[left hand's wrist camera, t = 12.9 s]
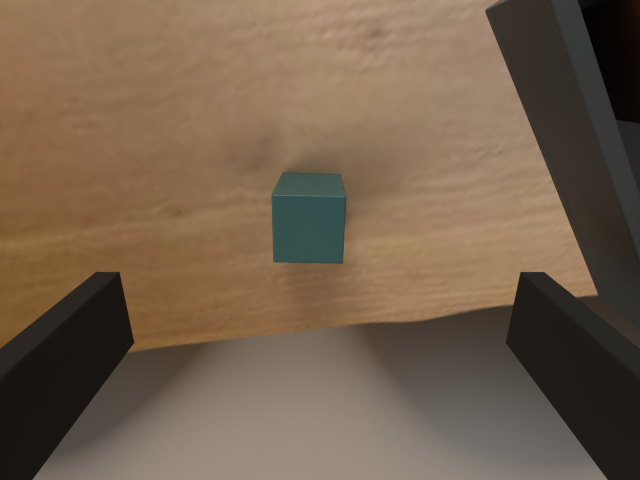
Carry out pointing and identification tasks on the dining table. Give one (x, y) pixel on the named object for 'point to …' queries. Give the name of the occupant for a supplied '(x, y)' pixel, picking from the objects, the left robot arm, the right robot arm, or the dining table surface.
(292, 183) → the teal block
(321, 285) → the dining table surface
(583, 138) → the tray
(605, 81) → the walnut block
